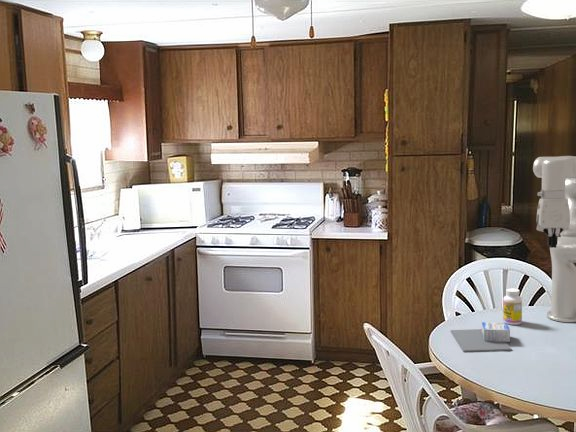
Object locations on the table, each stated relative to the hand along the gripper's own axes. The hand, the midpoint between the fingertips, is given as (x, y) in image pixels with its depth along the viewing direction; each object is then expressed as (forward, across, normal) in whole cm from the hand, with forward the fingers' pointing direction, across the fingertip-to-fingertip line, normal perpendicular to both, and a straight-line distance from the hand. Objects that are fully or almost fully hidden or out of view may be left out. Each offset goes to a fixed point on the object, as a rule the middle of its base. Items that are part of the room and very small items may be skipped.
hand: (552, 246), depth 214 cm
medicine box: (+29, -16, -4) cm, 34 cm away
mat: (+32, -26, -4) cm, 42 cm away
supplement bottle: (+32, -9, +14) cm, 36 cm away
